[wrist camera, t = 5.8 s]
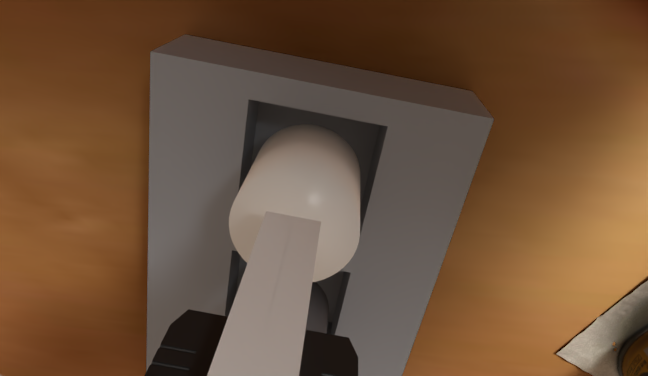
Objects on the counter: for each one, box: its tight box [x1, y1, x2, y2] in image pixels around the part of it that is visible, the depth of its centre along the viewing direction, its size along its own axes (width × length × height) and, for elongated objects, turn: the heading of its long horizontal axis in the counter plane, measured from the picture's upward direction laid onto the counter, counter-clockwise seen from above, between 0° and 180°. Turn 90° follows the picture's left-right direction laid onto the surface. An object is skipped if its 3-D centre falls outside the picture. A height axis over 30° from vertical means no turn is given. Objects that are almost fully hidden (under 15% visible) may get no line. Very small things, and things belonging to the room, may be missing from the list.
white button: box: [229, 124, 360, 282], centre depth 16 cm, size 4×4×4 cm
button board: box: [146, 34, 494, 376], centre depth 23 cm, size 20×12×4 cm, turn 170°
